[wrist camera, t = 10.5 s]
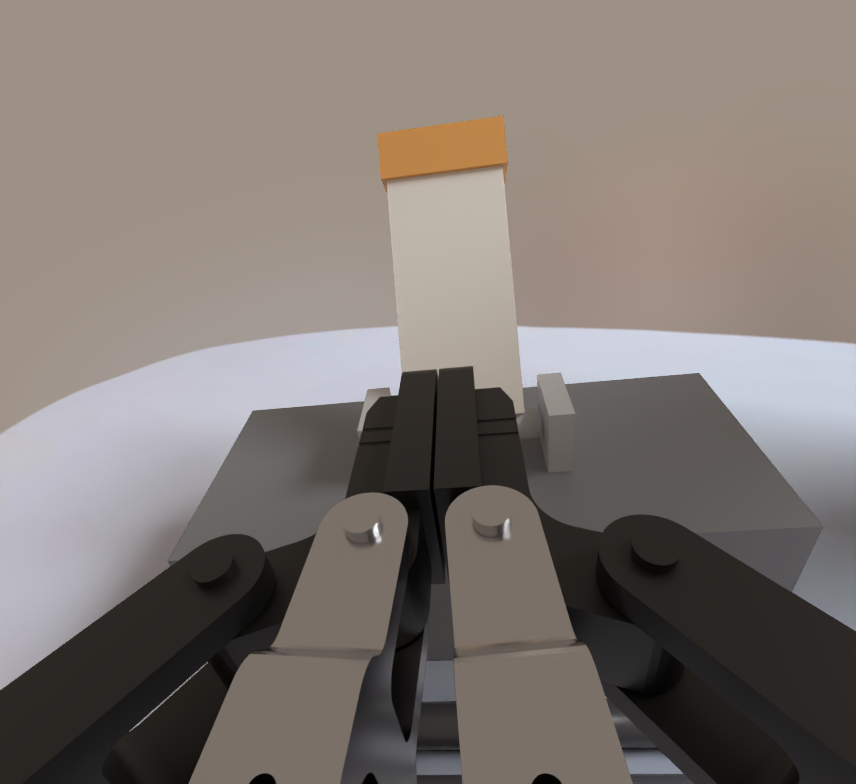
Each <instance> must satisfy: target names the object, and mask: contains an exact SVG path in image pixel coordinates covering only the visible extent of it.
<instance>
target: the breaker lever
mask: <svg viewBox="0 0 856 784" xmlns="http://www.w3.org/2000/svg"><path fill="white" fill-rule="evenodd" d="M505 139H506V138H505V127H504V117H503V116H498V117H491V118H484V119H477V120H470V121H463V122H456V123H449V124H441V125H434V126H427V127H420V128H413V129H406V130H399V131H392V132H385V133H378V147H379V160H380V172H381V180H382V182H383V184H384V187H385V189H386V192H387V194H388V206H389V218H390V231H391V243H392V255H393V268H394V281H395V292H396V293H395V294H396V306H397V319H398V331H399V344H400V356H401V369H402V373H403V372H408V371H419V370H431V369H437V372H438V378H439V369H442V368H453V367H465V366H473V371H474V383H475V389H483V388H495V387H500V388H501V389H502V390H503V391H504V392H505V393H506V394H507V395H508V396H509V397H510V398H511V399H512V400H513V404H514V409H515V414H516V421H517V425H518V431H519V436H520V441H524V440H537V439H538V423H537V415H536V410H535V407H528V408H524V400H523V389H522V378H521V367H520V355H519V344H518V333H517V322H516V310H515V300H514V289H513V277H512V265H511V255H510V243H509V232H508V220H507V209H506V200H505V199H506V198H505V187H504V184H505V180H506V171H507V164H508V161H507V150H506V140H505Z"/></svg>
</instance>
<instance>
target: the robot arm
mask: <svg viewBox="0 0 856 784" xmlns="http://www.w3.org/2000/svg"><path fill="white" fill-rule="evenodd" d="M445 562H446V568H447V575H448V581H449V583H450V593H451V605H452V618H453V630H454V643H455V653H454V677H455V691H456V704H457V717H458V730H459V743H460V757H461V770H462V783H463V784H633V783H632V779H631V776H630V773H629V770H628V767H627V764H626V760H625V757H624V754H623V751H622V748H621V745H620V741H619V738H618V735H617V732H616V729H615V726H614V723H613V719H612V716H611V713H610V710H609V707H608V704H607V700H606V697H607V698H608V699H609V700H610V701H611V702H612V703H613V704H614V705H615V706H616V707H617V708H618V709H619V710H620V711H621V712H622V713H623V714H624V715H625V716H626V717H627V718H628V719H629V720H630V721H631V722H632V723H633V724H634V725H635V726H636V727H637V728H638V729H639V730H640V731H641V732H642V733H643V734H644V735H645V736H646V737H647V738H648V739H649V740H650V741H651V742H652V743H653V744H654V745H655V746H656V747H657V748H658V749H659V750H660V751H661V752H662V753H663V754H664V755H665V756H667V757H668V758H669V759H670V760H671V761H672V762H673V763H674V764H675V765H676V766H677V767H678V768H679V769H680V770H681V771H682V772H683V773H684V774H685V775H686V776H687V777H688V778H689V779H690V780H691V781H692V782H693V783H694V784H856V631H854V630H853V629H851V628H849V627H848V626H846V625H844V624H843V623H841V622H839V621H838V620H836V619H835V618H833V617H831V616H830V615H828V614H826V613H825V612H823V611H821V610H820V609H818V608H817V607H815V606H813V605H812V604H810V603H808V602H807V601H805V600H803V599H802V598H800V597H799V596H797V595H795V594H794V593H792V592H790V591H789V590H787V589H785V588H784V587H782V586H781V585H779V584H777V583H776V582H774V581H772V580H771V579H769V578H767V577H766V576H764V575H763V574H761V573H759V572H758V571H756V570H754V569H753V568H751V567H750V566H748V565H746V564H745V563H743V562H741V561H740V560H738V559H736V558H735V557H733V556H732V555H730V554H728V553H727V552H725V551H723V550H722V549H720V548H718V547H717V546H715V545H714V544H712V543H710V542H709V541H707V540H705V539H704V538H702V537H700V536H699V535H697V534H696V533H694V532H692V531H691V530H689V529H687V528H686V527H684V526H682V525H680V524H678V523H677V522H674V521H672V520H669V519H666V518H663V517H659V516H654V515H644V514H637V515H629V516H625V517H622V518H619V519H617V520H615V521H613V522H612V523H610V524H609V525H608V526H607V527H606V528H605V529H604V531H603V532H598V531H593V530H589V529H584V528H579V527H575V526H571V525H567V524H565V523H562V522H560V521H558V520H556V519H554V518H552V517H550V516H549V515H547V514H546V513H545V512H543V511H542V510H541V509H540V508H539V507H538V506H537V504H536V503H535V502H534V500H533V498H532V496H531V494H530V490H529V485H528V480H527V474H526V469H525V463H524V458H523V453H522V447H521V442H520V436H519V431H518V425H517V421H516V414H515V409H514V404H513V400H512V399H511V398H510V397H509V396H508V395H507V394H506V393H505V392H504V391H503V390H502V389H501V388H500V387H495V388H483V389H475V383H474V371H473V366H465V367H453V368H442V369H439V378H438V372H437V369H431V370H419V371H408V372H403V373H402V376H401V382H400V388H399V394H398V395H397V396H385V397H379V398H378V400H377V401H376V402H375V403H374V404H373V405H372V407H371V408H370V409H369V410H368V411H367V413H366V417H365V421H364V425H363V432H362V433H361V437H360V441H359V447H358V449H357V453H356V457H355V461H354V465H353V469H352V473H351V477H350V481H349V485H348V489H347V493H346V497H345V500H343V501H341V502H339V503H338V504H336V505H335V506H334V507H333V508H331V510H330V511H329V512H328V513H327V514H326V515H325V517H324V518H323V519H322V521H321V523H320V526H319V528H318V531H317V533H316V534H314V535H312V536H310V537H308V538H306V539H303V540H301V541H298V542H295V543H291V544H288V545H285V546H282V547H279V548H276V549H273V550H270V551H267V552H265V551H264V549H263V547H262V545H261V544H260V543H259V541H258V540H256V539H255V538H253V537H251V536H248V535H244V534H229V535H224V536H220V537H217V538H214V539H212V540H209V541H207V542H205V543H203V544H201V545H200V546H198V547H197V548H195V549H194V550H192V551H191V552H190V553H188V554H187V555H186V556H184V557H183V558H181V559H180V560H179V561H177V562H176V563H175V564H173V565H172V566H170V567H169V568H168V569H166V570H165V571H164V572H162V573H161V574H159V575H158V576H157V577H155V578H154V579H153V580H151V581H150V582H149V583H147V584H146V585H144V586H143V587H142V588H140V589H139V590H138V591H136V592H135V593H133V594H132V595H131V596H129V597H128V598H127V599H125V600H124V601H122V602H121V603H120V604H118V605H117V606H116V607H114V608H113V609H111V610H110V611H109V612H107V613H106V614H105V615H103V616H102V617H100V618H99V619H98V620H96V621H95V622H94V623H92V624H91V625H89V626H88V627H87V628H85V629H84V630H83V631H81V632H80V633H79V634H77V635H76V636H74V637H73V638H72V639H70V640H69V641H68V642H66V643H65V644H63V645H62V646H61V647H59V648H58V649H57V650H55V651H54V652H52V653H51V654H50V655H48V656H47V657H46V658H44V659H43V660H41V661H40V662H39V663H37V664H36V665H35V666H33V667H32V668H30V669H29V670H28V671H26V672H25V673H24V674H22V675H21V676H19V677H18V678H17V679H15V680H14V681H13V682H11V683H10V684H9V685H7V686H6V687H4V688H3V689H2V690H0V784H417V775H416V746H417V736H418V728H419V719H420V710H421V702H422V693H423V685H424V676H425V668H426V659H427V651H428V642H429V633H430V620H429V613H430V597H431V584H445ZM207 661H208V664H207V665H205V666H204V667H203V668H202V669H201V670H200V671H199V672H198V673H197V674H195V675H194V676H193V677H192V678H191V679H190V680H189V681H188V682H186V683H185V684H184V685H183V686H182V687H181V688H180V689H179V690H178V691H176V692H175V693H174V694H173V695H172V696H171V697H170V698H169V699H167V700H166V701H165V702H164V703H163V704H162V705H161V706H160V707H159V708H157V709H156V710H155V711H154V712H153V713H152V714H151V715H150V716H148V717H147V718H146V719H145V720H144V721H143V722H142V723H141V724H139V725H138V726H137V727H136V728H134V729H133V730H131V729H132V728H133V727H134V726H135V725H136V724H138V723H139V722H140V721H141V720H142V719H143V718H144V717H145V716H147V715H148V714H149V713H150V712H151V711H152V710H153V709H154V708H156V707H157V706H158V705H159V704H160V703H161V702H162V701H163V700H164V699H166V698H167V697H168V696H169V695H170V694H171V693H172V692H173V691H175V690H176V689H177V688H178V687H179V686H180V685H181V684H182V683H184V682H185V681H186V680H187V679H188V678H189V677H190V676H191V675H193V674H194V673H195V672H196V671H197V670H198V669H199V668H200V667H202V666H203V665H204V664H205V663H206V662H207ZM605 696H606V697H605ZM130 730H131V731H130ZM129 731H130V732H129ZM127 732H128V733H127Z"/></svg>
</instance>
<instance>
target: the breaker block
mask: <svg viewBox="0 0 856 784" xmlns="http://www.w3.org/2000/svg"><path fill="white" fill-rule="evenodd" d="M522 389H523V400H524V408H528V407H535V410H536V415H537V423H538V439H537V440H524V441H520V442H521V447H522V453H523V458H524V463H525V469H526V474H527V480H528V485H529V490H530V494H531V496H532V498H533V500H534V502H535V503H536V504H537V506H538V507H539V508H540V509H541V510H542V511H543V512H545V513H546V514H547V515H549V516H550V517H552V518H554V519H556V520H558V521H560V522H562V523H565V524H567V525H571V526H575V527H579V528H584V529H589V530H593V531H598V532H603V531H604V529H605V528H606V527H607V526H608V525H609V524H610V523H612V522H613V521H615V520H617V519H619V518H622V517H625V516H629V515H637V514H644V515H654V516H659V517H663V518H666V519H669V520H672V521H674V522H677V523H678V524H680V525H682V526H684V527H686V528H687V529H689V530H691V531H692V532H694V533H696V534H697V535H699V536H700V537H702V538H704V539H705V540H707V541H709V542H710V543H712V544H714V545H715V546H717V547H718V548H720V549H722V550H723V551H725V552H727V553H728V554H730V555H732V556H733V557H735V558H736V559H738V560H740V561H741V562H743V563H745V564H746V565H748V566H750V567H751V568H753V569H754V570H756V571H758V572H759V573H761V574H763V575H764V576H766V577H767V578H769V579H771V580H772V581H774V582H776V583H777V584H779V585H781V586H782V587H784V588H785V589H787V590H789V591H790V592H792V590H793V588H794V586H795V584H796V582H797V580H798V578H799V576H800V574H801V571H802V569H803V567H804V565H805V563H806V561H807V559H808V557H809V555H810V553H811V551H812V548H813V546H814V544H815V542H816V540H817V538H818V536H819V534H820V532H821V530H822V528H823V526H822V525H821V523H820V522H819V521H818V520H817V518H816V517H815V516H814V515H813V513H812V512H811V511H810V510H809V508H808V507H807V506H806V505H805V503H804V502H803V501H802V500H801V499H800V497H799V496H798V495H797V494H796V492H795V491H794V490H793V489H792V487H791V486H790V485H789V484H788V482H787V481H786V480H785V479H784V478H783V476H782V475H781V474H780V473H779V471H778V470H777V469H776V468H775V466H774V465H773V464H772V463H771V461H770V460H769V459H768V458H767V457H766V455H765V454H764V453H763V452H762V450H761V449H760V448H759V447H758V445H757V444H756V443H755V442H754V440H753V439H752V438H751V437H750V436H749V434H748V433H747V432H746V431H745V429H744V428H743V427H742V426H741V424H740V423H739V422H738V421H737V419H736V418H735V417H734V416H733V414H732V413H731V412H730V411H729V410H728V408H727V407H726V406H725V405H724V403H723V402H722V401H721V400H720V398H719V397H718V396H717V395H716V393H715V392H714V391H713V390H712V389H711V387H710V386H709V385H708V384H707V382H706V381H705V380H704V379H703V377H702V376H701V375H700V374H699V373H694V374H682V375H670V376H659V377H647V378H635V379H623V380H611V381H599V382H588V383H576V384H565V383H564V381H563V378H562V375H561V373H552V374H540V375H537V387H528V388H522ZM385 396H391V394H390V389H389V388H379V389H368V390H367V394H366V398H365V401H363V402H351V403H339V404H327V405H316V406H304V407H292V408H280V409H268V410H256V411H252V413H251V415H250V417H249V418H248V420H247V422H246V424H245V426H244V427H243V429H242V431H241V433H240V434H239V436H238V438H237V440H236V441H235V443H234V445H233V447H232V448H231V450H230V452H229V454H228V455H227V457H226V459H225V461H224V463H223V464H222V466H221V468H220V470H219V471H218V473H217V475H216V477H215V478H214V480H213V482H212V484H211V485H210V487H209V489H208V491H207V492H206V494H205V496H204V498H203V500H202V501H201V503H200V505H199V507H198V508H197V510H196V512H195V514H194V515H193V517H192V519H191V521H190V522H189V524H188V526H187V528H186V529H185V531H184V533H183V535H182V537H181V538H180V540H179V542H178V544H177V545H176V547H175V549H174V551H173V552H172V554H171V556H170V558H169V559H168V563H169V564H170V566H172V565H173V564H175V563H176V562H177V561H179V560H180V559H181V558H183V557H184V556H186V555H187V554H188V553H190V552H191V551H192V550H194V549H195V548H197V547H198V546H200V545H201V544H203V543H205V542H207V541H209V540H212V539H214V538H217V537H220V536H224V535H229V534H244V535H248V536H251V537H253V538H255V539H256V540H258V541H259V543H260V544H261V545H262V547H263V549H264V551H265V552H267V551H270V550H273V549H276V548H279V547H282V546H285V545H288V544H291V543H295V542H298V541H301V540H303V539H306V538H308V537H310V536H312V535H314V534H316V533H317V531H318V528H319V526H320V523H321V521H322V519H323V518H324V517H325V515H326V514H327V513H328V512H329V511H330V510H331V508H333V507H334V506H335V505H336V504H338V503H339V502H341V501H343V500H345V497H346V493H347V489H348V485H349V481H350V477H351V473H352V469H353V465H354V461H355V457H356V453H357V449H358V447H359V441H360V437H361V433H362V432H363V425H364V421H365V417H366V413H367V411H368V410H369V409H370V408H371V407H372V405H373V404H374V403H375V402H376V401H377V400H378V398H379V397H385ZM429 620H430V633H429V642H428V651H427V659H426V660H454V653H455V643H454V630H453V618H452V605H451V593H450V583H449V581H448V575H447V568H446V562H445V584H431V597H430V613H429ZM606 700H607V704H608V707H609V710H610V713H611V716H612V719H613V723H614V726H615V729H616V732H617V735H618V738H619V741H620V745H621V748H657V747H656V746H655V745H654V744H653V743H652V742H651V741H650V740H649V739H648V738H647V737H646V736H645V735H644V734H643V733H642V732H641V731H640V730H639V729H638V728H637V727H636V726H635V725H634V724H633V723H632V722H631V721H630V720H629V719H628V718H627V717H626V716H625V715H624V714H623V713H622V712H621V711H620V710H619V709H618V708H617V707H616V706H615V705H614V704H613V703H612V702H611V701H610V700H609V699H608V698H606ZM416 750H460V743H459V730H458V717H457V704H456V701H446V702H421V710H420V719H419V728H418V736H417V746H416ZM630 776H631V779H632V783H633V784H694V783H693V782H692V781H691V780H690V779H689V778H688V777H687V776H686V775H685V774H630ZM417 784H463V783H462V775H417Z"/></svg>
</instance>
